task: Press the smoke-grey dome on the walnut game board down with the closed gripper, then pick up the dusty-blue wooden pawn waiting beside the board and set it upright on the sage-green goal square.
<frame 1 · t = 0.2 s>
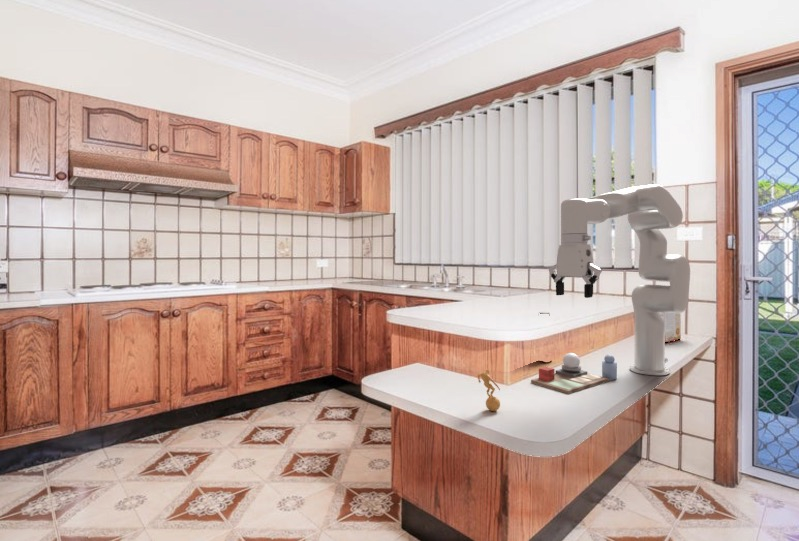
hand: (573, 296, 132), 31 cm above the countertop, tool pointing down, fingers open, 9 cm apart
cracker box: (666, 341, 207), on the countertop
dome: (571, 360, 152), point 6 cm above the countertop, slide at 0.0 cm
sauce bottle: (544, 361, 174), on the countertop
game board: (569, 382, 146), on the countertop
pawn: (609, 377, 150), on the countertop
figurine: (490, 412, 121), on the countertop
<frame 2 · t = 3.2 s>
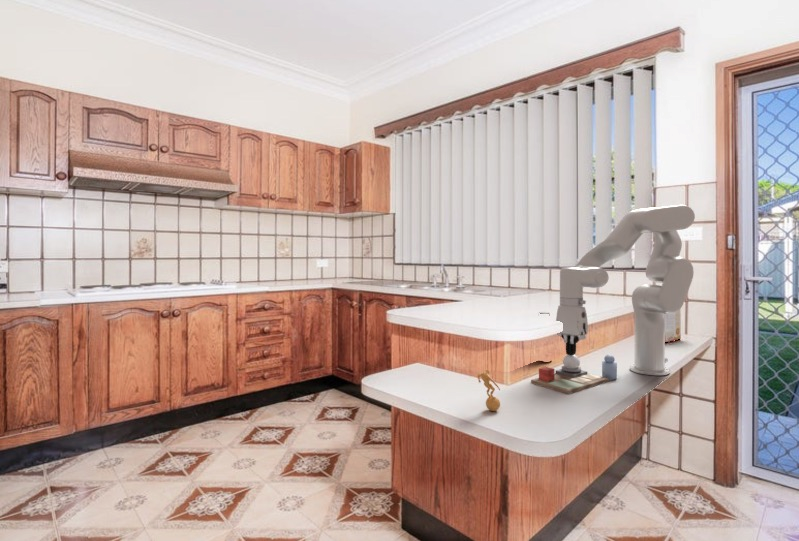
hand: (570, 354, 152), 8 cm above the countertop, tool pointing down, fingers closed
dome: (571, 361, 152), point 5 cm above the countertop, slide at 0.4 cm, touching gripper
everything else where it was.
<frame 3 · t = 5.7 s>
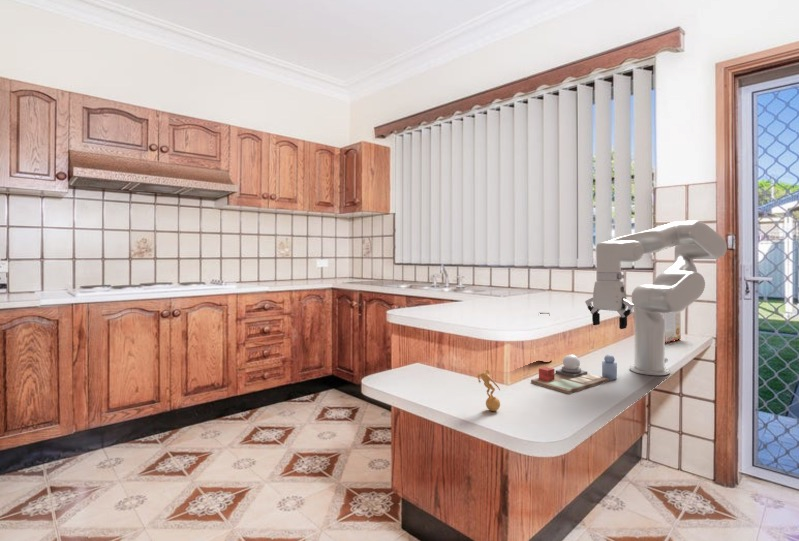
hand: (609, 326, 150), 18 cm above the countertop, tool pointing down, fingers open, 9 cm apart
dome: (571, 362, 152), point 5 cm above the countertop, slide at 0.6 cm
everything else where it was.
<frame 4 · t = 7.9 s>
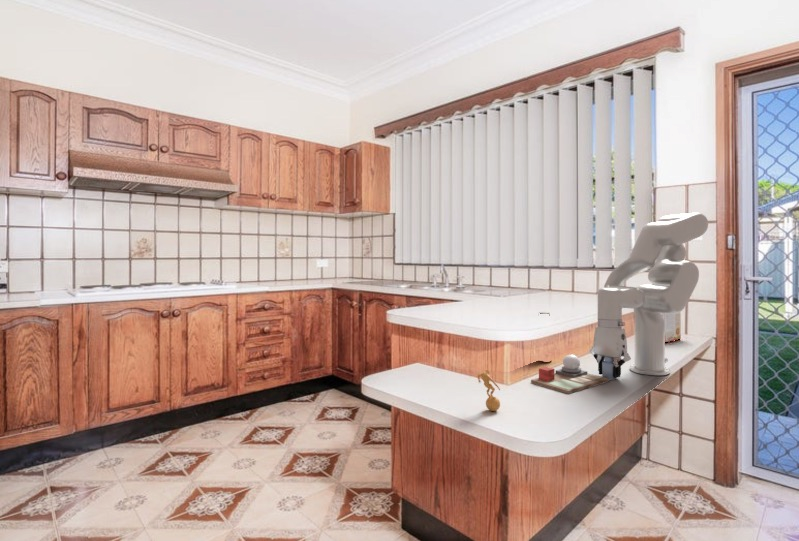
hand: (609, 375, 150), 1 cm above the countertop, tool pointing down, fingers closed on pawn, 4 cm apart
pawn: (609, 377, 150), on the countertop, touching gripper
everything else where it was.
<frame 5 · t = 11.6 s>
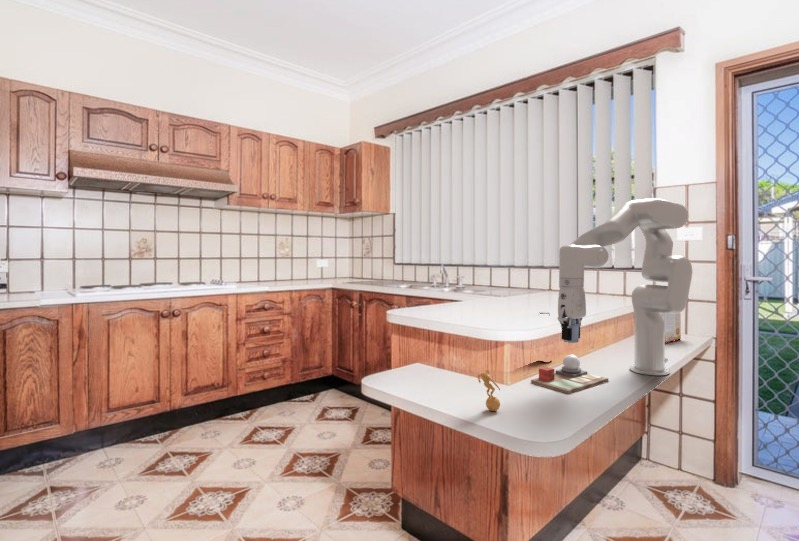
hand: (570, 338, 141), 16 cm above the countertop, tool pointing down, fingers closed on pawn, 4 cm apart
pawn: (570, 341, 141), point 15 cm above the countertop, touching gripper
everything else where it was.
when the fingers open (3 cm above the countertop, at t = 15.6 s): pawn stays where it is, resting on game board.
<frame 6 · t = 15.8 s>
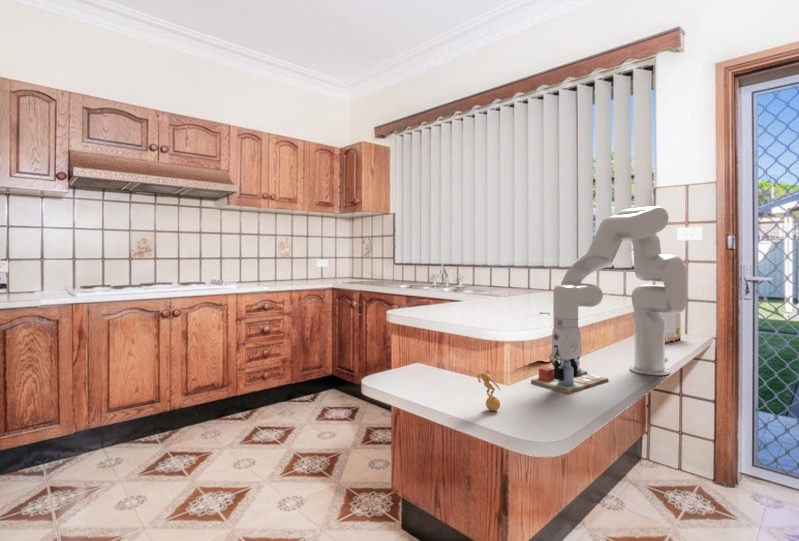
hand: (565, 377, 140), 3 cm above the countertop, tool pointing down, fingers open, 6 cm apart
pawn: (565, 384, 141), point 1 cm above the countertop, touching game board
everything else where it was.
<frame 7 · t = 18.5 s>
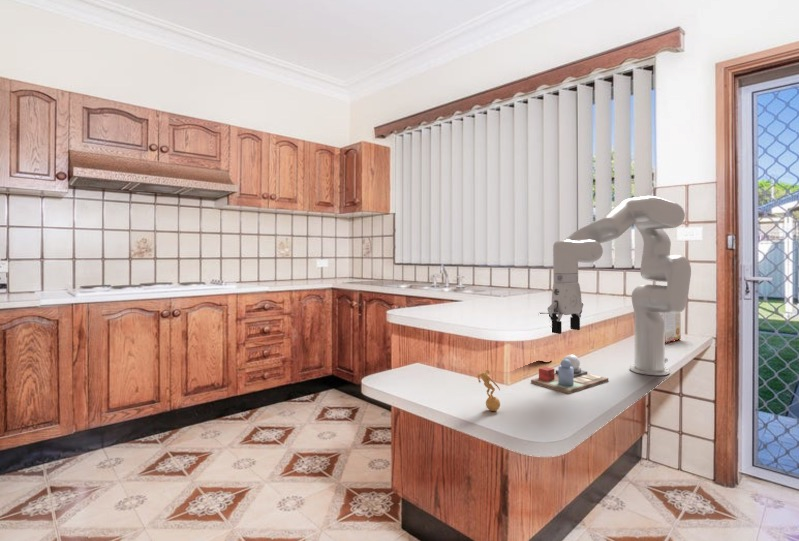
hand: (566, 331, 140), 18 cm above the countertop, tool pointing down, fingers open, 9 cm apart
nothing on the countertop moved.
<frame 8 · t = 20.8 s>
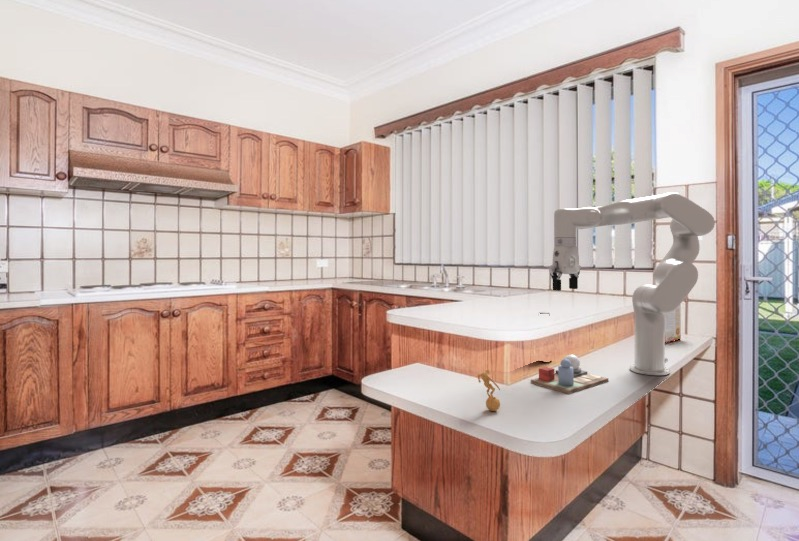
hand: (565, 289, 158), 30 cm above the countertop, tool pointing down, fingers open, 9 cm apart
nothing on the countertop moved.
at the end: dome slide at 0.6 cm; pawn 0.1 cm from the target spot, point 1.1 cm above the countertop; pawn tilted 1° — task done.
